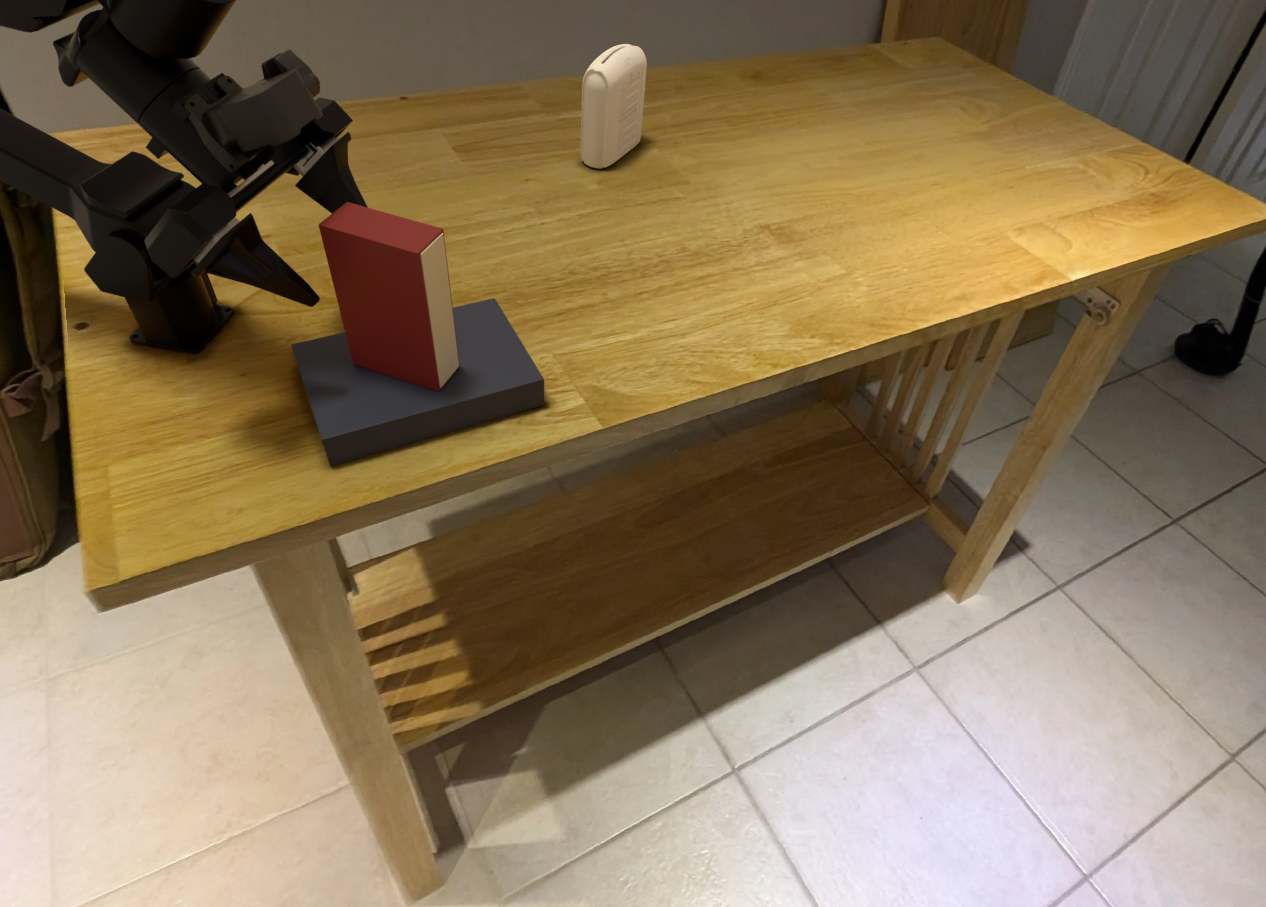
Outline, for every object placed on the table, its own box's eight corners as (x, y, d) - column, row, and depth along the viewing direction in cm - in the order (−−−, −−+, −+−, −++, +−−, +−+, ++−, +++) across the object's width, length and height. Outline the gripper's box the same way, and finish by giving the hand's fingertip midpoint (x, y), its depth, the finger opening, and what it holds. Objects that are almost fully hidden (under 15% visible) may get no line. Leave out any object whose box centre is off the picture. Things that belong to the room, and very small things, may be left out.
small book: (352, 364, 65) (317, 224, 56) (376, 339, 67) (346, 201, 58) (439, 392, 64) (419, 253, 54) (461, 366, 66) (445, 229, 56)
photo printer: (616, 132, 103) (622, 31, 94) (645, 141, 102) (653, 40, 93) (575, 163, 97) (576, 58, 88) (605, 173, 96) (610, 68, 86)
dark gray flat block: (330, 466, 61) (321, 439, 59) (299, 371, 68) (290, 344, 66) (545, 404, 68) (545, 378, 66) (497, 323, 75) (495, 297, 73)
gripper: (113, 80, 43) (338, 292, 50) (302, -21, 55) (461, 160, 62) (55, 184, 50) (259, 359, 56) (234, 73, 62) (385, 227, 69)
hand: (348, 269), depth 61 cm, fingers open, 9 cm apart
